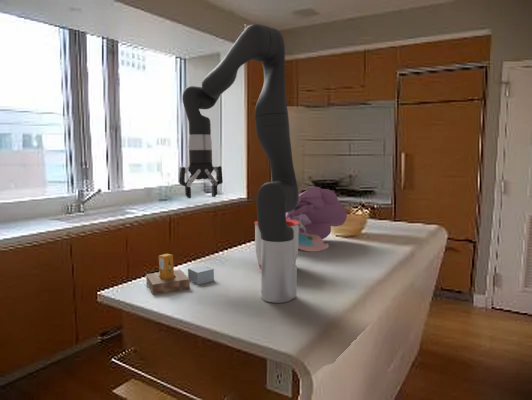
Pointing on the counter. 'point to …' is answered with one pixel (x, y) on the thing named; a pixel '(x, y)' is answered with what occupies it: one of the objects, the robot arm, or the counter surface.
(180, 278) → the hole plate
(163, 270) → the supplement box
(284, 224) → the robot arm
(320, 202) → the flower arrangement
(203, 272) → the wide block
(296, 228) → the citrus juicer
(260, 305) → the counter surface
